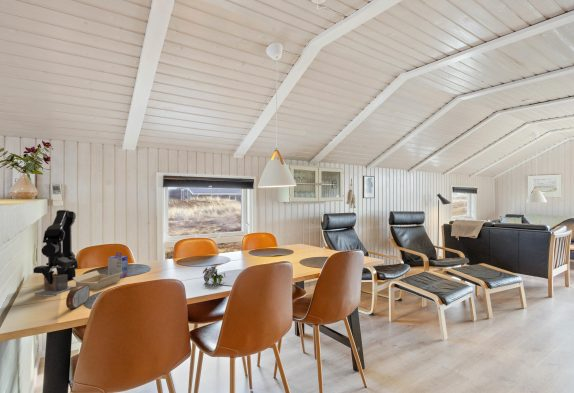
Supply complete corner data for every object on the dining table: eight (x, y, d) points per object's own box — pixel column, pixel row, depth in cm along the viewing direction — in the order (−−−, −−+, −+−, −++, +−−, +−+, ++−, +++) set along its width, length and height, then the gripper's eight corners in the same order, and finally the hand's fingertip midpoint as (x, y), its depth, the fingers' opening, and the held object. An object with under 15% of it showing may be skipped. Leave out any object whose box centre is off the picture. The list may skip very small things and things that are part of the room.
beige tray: (72, 288, 170) (72, 277, 170) (96, 280, 185) (96, 270, 185) (101, 290, 166) (101, 279, 166) (123, 281, 182) (123, 271, 182)
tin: (84, 299, 151) (84, 282, 151) (91, 299, 152) (91, 281, 152) (65, 311, 136) (64, 291, 136) (73, 311, 137) (72, 291, 137)
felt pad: (34, 294, 160) (34, 292, 160) (56, 287, 172) (56, 285, 172) (54, 295, 158) (54, 293, 158) (75, 288, 169) (75, 286, 169)
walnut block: (44, 290, 163) (43, 276, 163) (53, 287, 168) (53, 273, 168) (59, 291, 161) (58, 277, 161) (67, 288, 166) (67, 274, 166)
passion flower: (206, 293, 176) (198, 273, 180) (224, 286, 182) (216, 267, 186) (210, 286, 167) (202, 266, 172) (229, 279, 173) (220, 259, 178)
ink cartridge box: (128, 276, 193) (128, 252, 193) (122, 278, 188) (121, 254, 188) (114, 275, 195) (113, 251, 195) (107, 278, 190) (107, 253, 190)
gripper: (51, 256, 154) (51, 289, 154) (83, 249, 172) (83, 278, 172) (32, 256, 156) (32, 287, 156) (65, 249, 174) (66, 277, 174)
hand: (55, 282), depth 165 cm, fingers closed on walnut block, 5 cm apart
